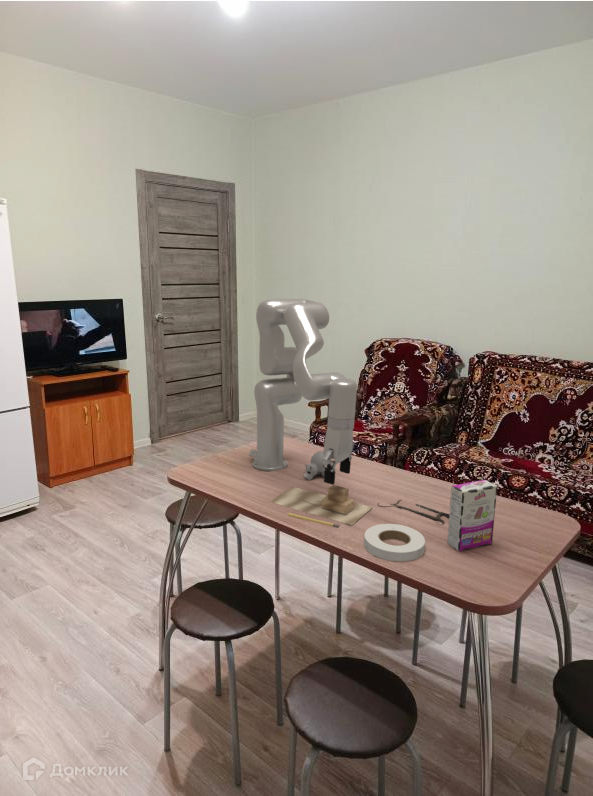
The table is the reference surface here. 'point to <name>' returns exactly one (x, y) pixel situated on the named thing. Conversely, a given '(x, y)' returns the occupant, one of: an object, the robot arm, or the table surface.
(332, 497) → the cork sanding block
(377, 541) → the roll of tape
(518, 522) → the table surface
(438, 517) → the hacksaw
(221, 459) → the table surface
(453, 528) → the candy bar box
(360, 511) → the birch board
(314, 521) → the pencil
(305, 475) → the toy rhinoceros
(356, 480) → the table surface
